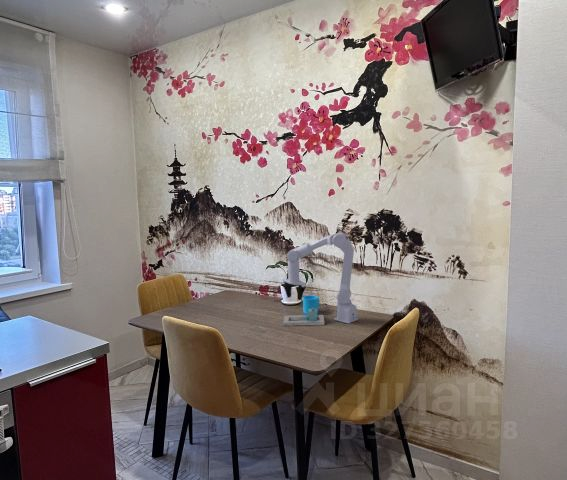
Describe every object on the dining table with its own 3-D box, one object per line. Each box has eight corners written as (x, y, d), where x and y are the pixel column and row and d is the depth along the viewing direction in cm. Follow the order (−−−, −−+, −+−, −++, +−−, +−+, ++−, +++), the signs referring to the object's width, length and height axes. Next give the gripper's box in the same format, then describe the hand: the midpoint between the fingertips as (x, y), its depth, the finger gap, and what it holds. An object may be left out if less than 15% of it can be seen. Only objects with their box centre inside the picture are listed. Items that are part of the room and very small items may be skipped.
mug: (312, 315, 211) (312, 300, 210) (300, 312, 216) (299, 297, 215) (325, 309, 220) (324, 295, 219) (313, 307, 225) (312, 293, 224)
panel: (323, 317, 205) (323, 315, 205) (324, 325, 195) (324, 322, 194) (284, 318, 206) (284, 315, 206) (283, 325, 196) (283, 322, 195)
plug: (316, 320, 202) (316, 307, 201) (317, 322, 198) (316, 309, 197) (309, 320, 202) (308, 307, 202) (309, 323, 198) (308, 309, 198)
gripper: (309, 273, 203) (310, 299, 205) (289, 269, 213) (289, 294, 215) (300, 275, 198) (300, 302, 200) (279, 272, 208) (280, 297, 210)
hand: (294, 298), depth 207 cm, fingers open, 7 cm apart
